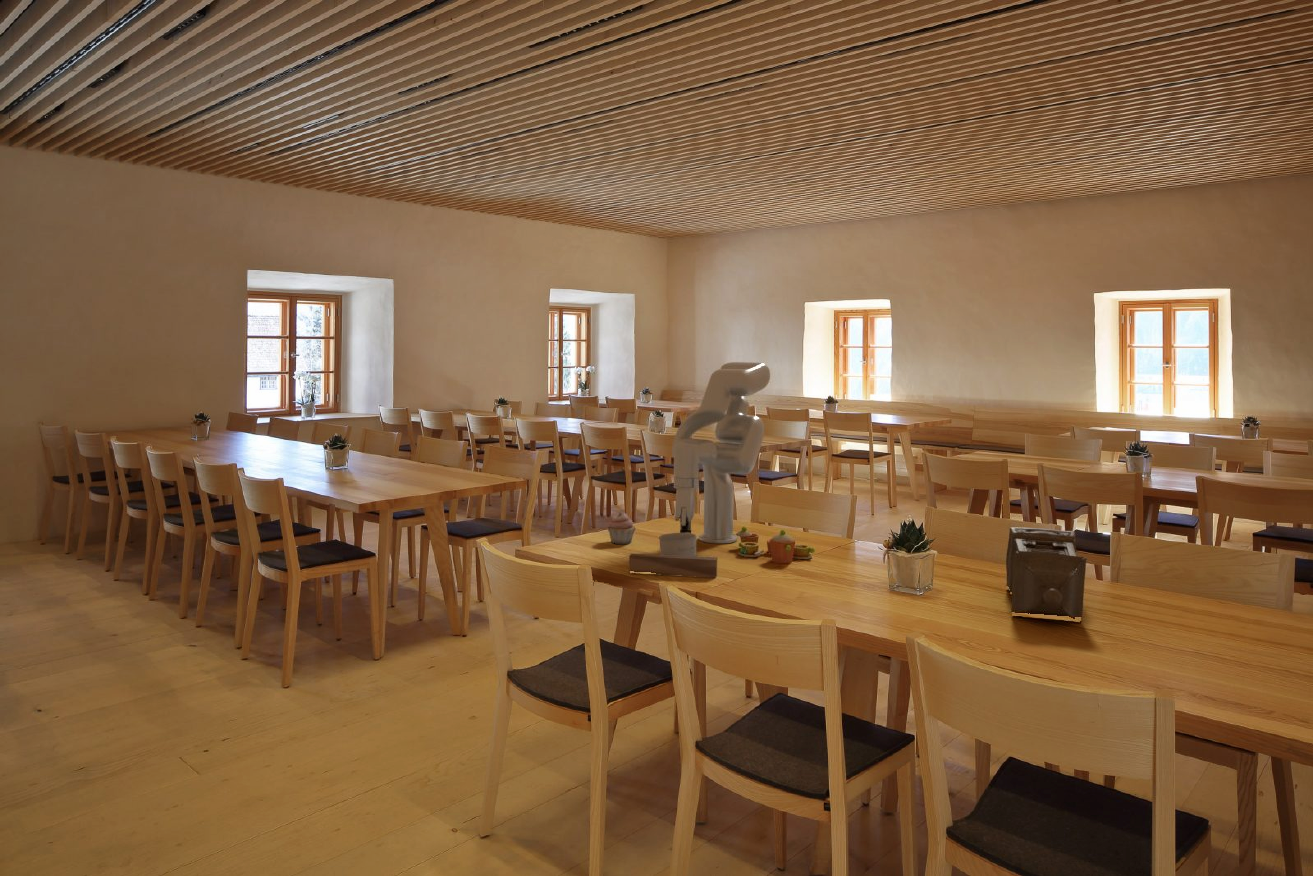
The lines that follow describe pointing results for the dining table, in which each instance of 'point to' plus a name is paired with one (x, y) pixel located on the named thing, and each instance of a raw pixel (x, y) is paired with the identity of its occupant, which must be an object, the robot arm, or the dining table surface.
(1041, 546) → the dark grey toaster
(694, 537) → the grey rounded block
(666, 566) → the block
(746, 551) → the toy tea set
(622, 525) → the cupcake
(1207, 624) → the dining table surface
